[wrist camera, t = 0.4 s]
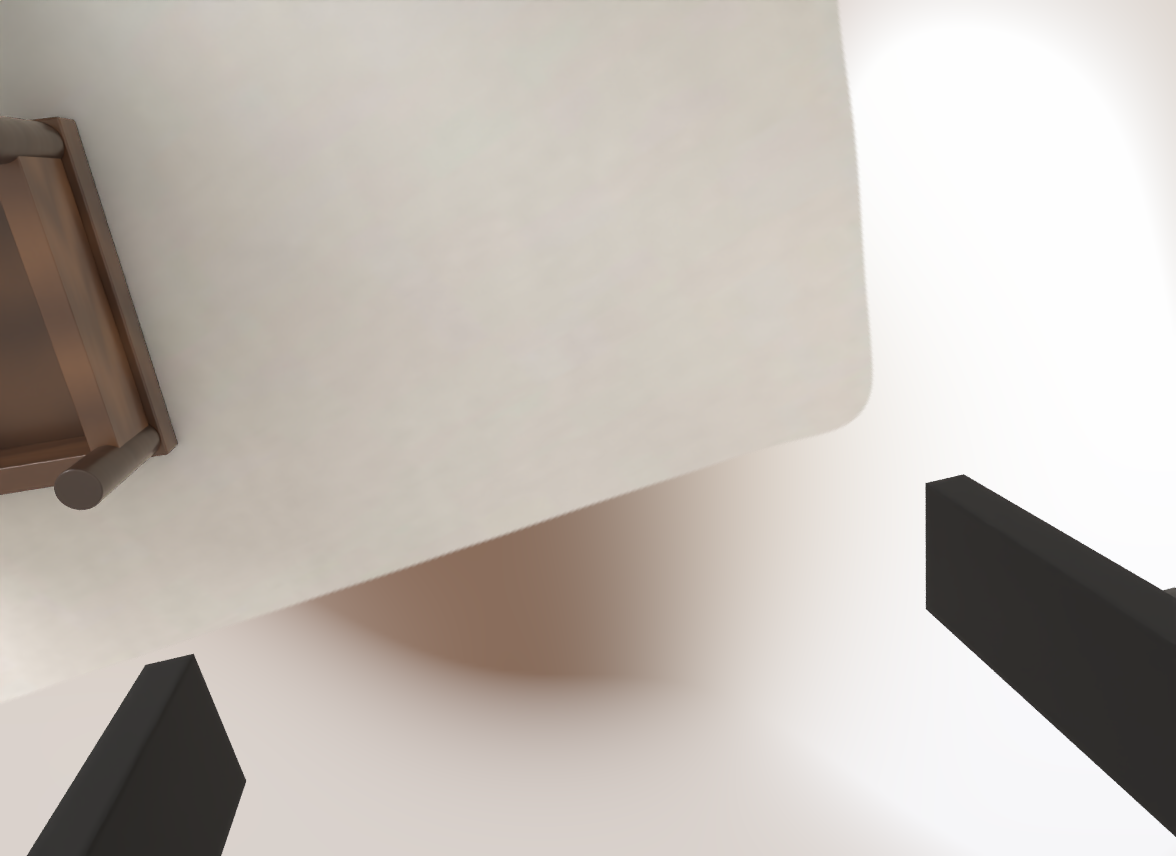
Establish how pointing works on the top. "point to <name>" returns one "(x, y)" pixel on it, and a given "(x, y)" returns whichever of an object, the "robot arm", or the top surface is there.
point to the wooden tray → (67, 328)
